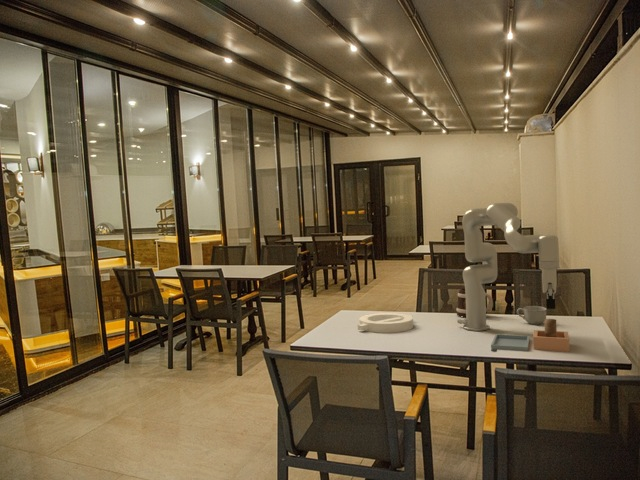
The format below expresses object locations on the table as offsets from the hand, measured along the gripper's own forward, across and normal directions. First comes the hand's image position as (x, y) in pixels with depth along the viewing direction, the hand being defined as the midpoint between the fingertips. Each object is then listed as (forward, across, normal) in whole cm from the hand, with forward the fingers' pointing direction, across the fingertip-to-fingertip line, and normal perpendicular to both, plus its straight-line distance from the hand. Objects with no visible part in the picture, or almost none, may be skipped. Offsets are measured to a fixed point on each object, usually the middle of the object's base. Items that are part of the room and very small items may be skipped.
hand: (550, 306), depth 200 cm
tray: (+17, -1, -16) cm, 24 cm away
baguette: (+16, -1, -1) cm, 17 cm away
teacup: (+17, -51, -9) cm, 54 cm away
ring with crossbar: (+16, -26, -79) cm, 85 cm away
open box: (+17, -1, -1) cm, 17 cm away
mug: (+16, -64, -39) cm, 76 cm away
